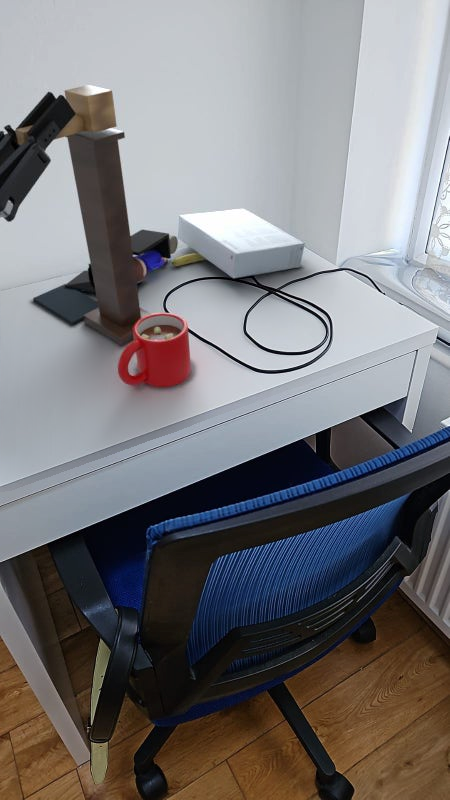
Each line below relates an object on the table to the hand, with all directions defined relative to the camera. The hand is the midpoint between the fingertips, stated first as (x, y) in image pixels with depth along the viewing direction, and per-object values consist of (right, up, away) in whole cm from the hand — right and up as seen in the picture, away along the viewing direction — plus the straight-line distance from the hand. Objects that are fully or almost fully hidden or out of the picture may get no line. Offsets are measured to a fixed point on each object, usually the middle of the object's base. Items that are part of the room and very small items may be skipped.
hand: (62, 102), depth 73 cm
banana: (+13, -9, +42) cm, 45 cm away
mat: (-7, -21, +30) cm, 37 cm away
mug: (+10, -34, +13) cm, 38 cm away
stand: (+3, -25, +25) cm, 35 cm away
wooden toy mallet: (0, -3, +2) cm, 4 cm away
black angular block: (-2, -16, +34) cm, 38 cm away
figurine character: (+6, -13, +38) cm, 41 cm away
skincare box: (+30, -5, +44) cm, 54 cm away
